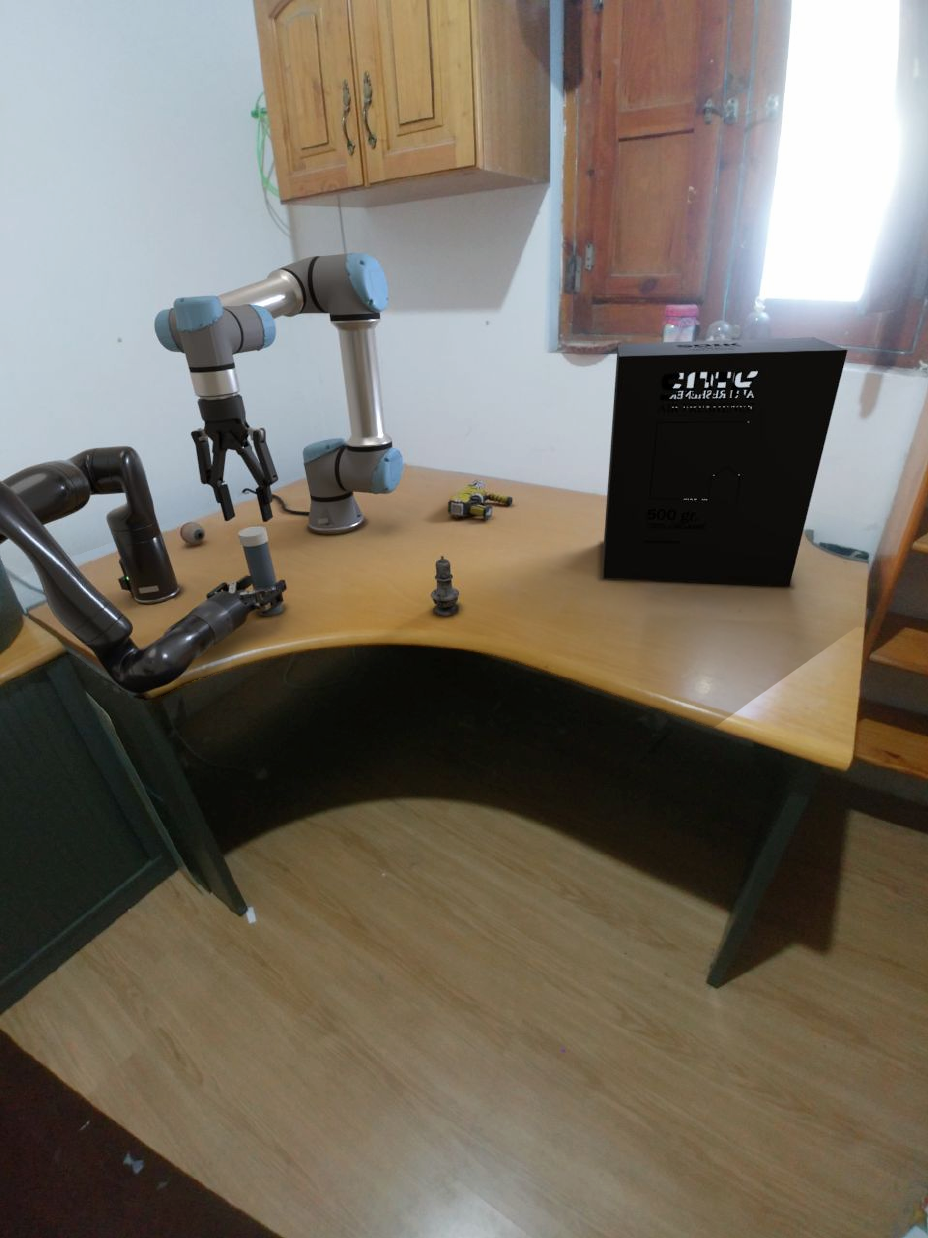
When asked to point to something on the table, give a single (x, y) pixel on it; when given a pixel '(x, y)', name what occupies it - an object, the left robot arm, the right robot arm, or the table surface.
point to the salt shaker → (444, 590)
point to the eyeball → (192, 533)
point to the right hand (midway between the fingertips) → (248, 518)
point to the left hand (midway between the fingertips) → (266, 581)
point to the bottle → (261, 571)
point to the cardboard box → (716, 458)
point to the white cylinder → (253, 536)
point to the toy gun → (475, 501)
